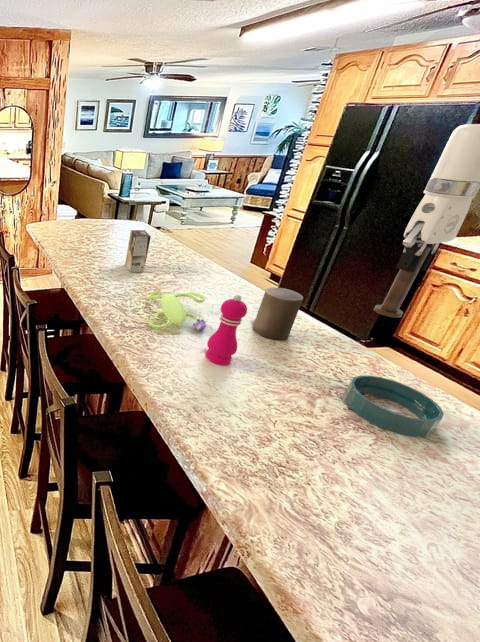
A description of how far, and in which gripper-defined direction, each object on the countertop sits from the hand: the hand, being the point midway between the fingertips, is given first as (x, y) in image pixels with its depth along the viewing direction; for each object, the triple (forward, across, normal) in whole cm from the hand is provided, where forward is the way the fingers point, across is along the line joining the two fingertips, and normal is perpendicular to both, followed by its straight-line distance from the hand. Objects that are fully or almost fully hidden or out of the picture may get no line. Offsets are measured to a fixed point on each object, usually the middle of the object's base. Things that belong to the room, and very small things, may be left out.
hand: (410, 268), depth 89 cm
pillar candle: (+31, -1, +24) cm, 39 cm away
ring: (+31, -10, -12) cm, 35 cm away
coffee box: (+31, -9, +83) cm, 89 cm away
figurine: (+31, -22, +43) cm, 57 cm away
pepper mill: (+31, -29, +17) cm, 46 cm away
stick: (+12, 0, 0) cm, 12 cm away
